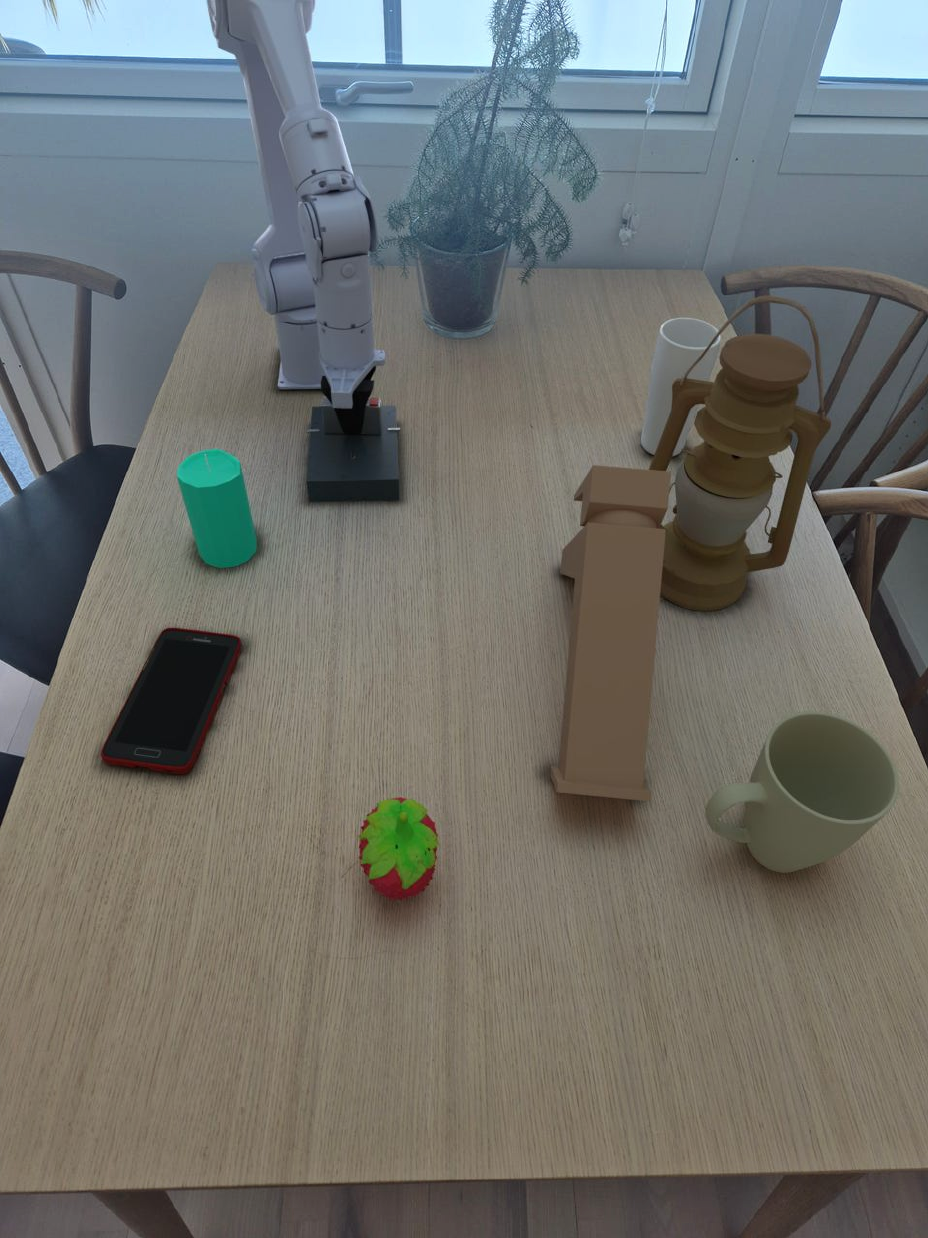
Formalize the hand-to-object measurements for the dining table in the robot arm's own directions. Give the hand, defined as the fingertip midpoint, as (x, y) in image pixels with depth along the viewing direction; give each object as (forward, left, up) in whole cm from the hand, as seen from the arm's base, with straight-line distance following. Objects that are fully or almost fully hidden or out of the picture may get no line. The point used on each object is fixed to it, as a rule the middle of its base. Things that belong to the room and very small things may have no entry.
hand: (353, 426), depth 95 cm
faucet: (+35, +22, -4) cm, 41 cm away
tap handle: (0, 0, -1) cm, 1 cm away
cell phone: (+35, -15, -4) cm, 39 cm away
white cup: (0, +37, -4) cm, 37 cm away
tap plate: (+2, 0, -4) cm, 4 cm away
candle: (+16, -13, -4) cm, 21 cm away
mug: (+52, +33, -4) cm, 62 cm away
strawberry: (+53, +4, -4) cm, 53 cm away
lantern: (+22, +35, -4) cm, 42 cm away
